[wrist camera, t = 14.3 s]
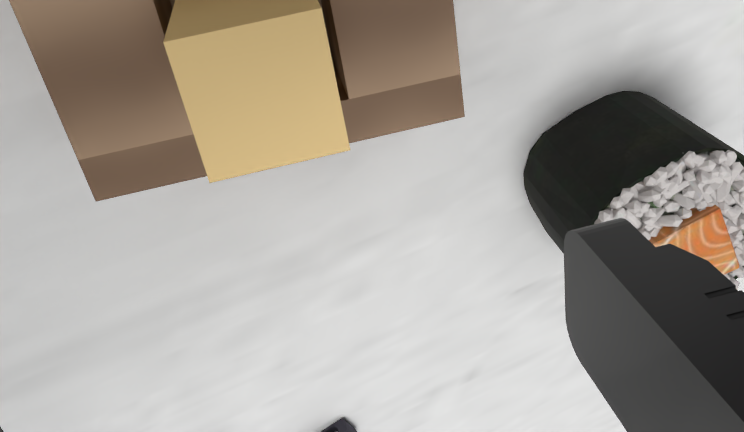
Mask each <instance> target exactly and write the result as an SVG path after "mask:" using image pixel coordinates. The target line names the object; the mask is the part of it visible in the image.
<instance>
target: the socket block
mask: <svg viewBox="0 0 744 432" xmlns="http://www.w3.org/2000/svg"><path fill="white" fill-rule="evenodd" d="M9 1H10V4H11V6H12V8H13V11H14V13H15V15H16V18H17V20H18V22H19V24H20V27H21V29H22V31H23V34H24V36H25V38H26V41H27V43H28V45H29V48H30V50H31V52H32V55H33V57H34V59H35V62H36V64H37V66H38V69H39V71H40V73H41V75H42V78H43V80H44V82H45V85H46V87H47V89H48V92H49V94H50V96H51V99H52V101H53V103H54V106H55V108H56V110H57V113H58V115H59V117H60V119H61V122H62V124H63V126H64V129H65V131H66V133H67V136H68V138H69V140H70V143H71V145H72V147H73V150H74V152H75V154H76V157H77V159H78V161H79V164H80V166H81V168H82V170H83V173H84V175H85V177H86V180H87V182H88V184H89V187H90V189H91V191H92V194H93V196H94V198H95V201H100V200H104V199H109V198H113V197H117V196H122V195H126V194H130V193H135V192H139V191H143V190H148V189H152V188H157V187H161V186H165V185H170V184H174V183H178V182H183V181H187V180H191V179H196V178H200V177H204V176H207V173H206V170H205V167H204V164H203V161H202V158H201V155H200V152H199V149H198V146H197V143H196V140H195V137H194V134H193V131H192V128H191V125H190V122H189V119H188V116H187V113H186V110H185V107H184V104H183V101H182V98H181V95H180V92H179V89H178V86H177V83H176V80H175V77H174V73H173V70H172V67H171V64H170V61H169V58H168V55H167V52H166V49H165V46H164V43H163V41H164V38H165V34H166V31H167V27H168V24H169V20H170V17H171V13H172V10H173V6H174V3H175V0H9ZM318 2H319V4H320V6H321V8H322V13H323V18H324V23H325V28H326V32H327V37H328V42H329V47H330V52H331V57H332V62H333V67H334V72H335V77H336V82H337V87H338V92H339V97H340V102H341V107H342V111H343V116H344V121H345V126H346V131H347V136H348V141H349V143H352V142H357V141H361V140H365V139H370V138H374V137H378V136H383V135H387V134H391V133H396V132H400V131H405V130H409V129H413V128H418V127H422V126H426V125H431V124H435V123H439V122H444V121H448V120H452V119H457V118H461V117H465V116H464V106H463V96H462V86H461V76H460V66H459V56H458V46H457V36H456V26H455V16H454V6H453V0H318Z"/></svg>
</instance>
